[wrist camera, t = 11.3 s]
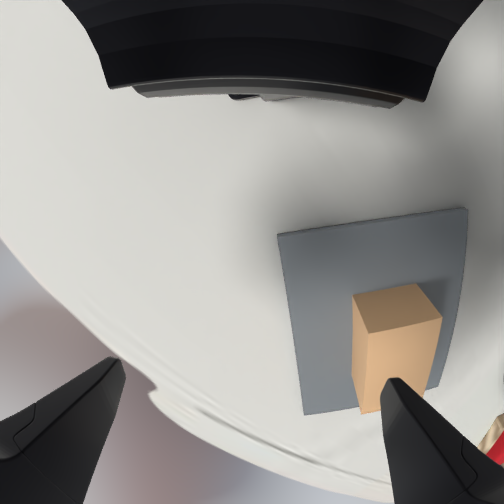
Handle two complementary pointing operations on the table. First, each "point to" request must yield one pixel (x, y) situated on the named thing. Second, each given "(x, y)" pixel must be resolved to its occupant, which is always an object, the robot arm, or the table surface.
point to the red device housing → (497, 450)
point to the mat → (365, 290)
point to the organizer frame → (492, 435)
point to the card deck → (392, 341)
